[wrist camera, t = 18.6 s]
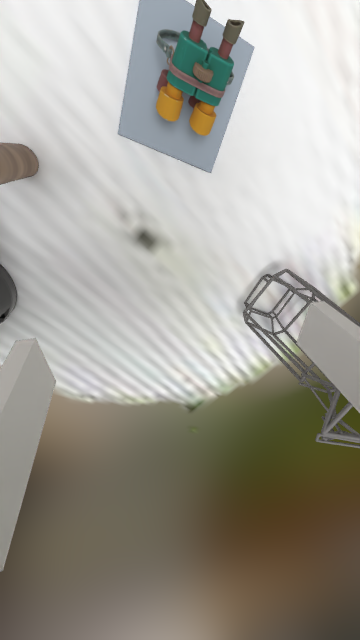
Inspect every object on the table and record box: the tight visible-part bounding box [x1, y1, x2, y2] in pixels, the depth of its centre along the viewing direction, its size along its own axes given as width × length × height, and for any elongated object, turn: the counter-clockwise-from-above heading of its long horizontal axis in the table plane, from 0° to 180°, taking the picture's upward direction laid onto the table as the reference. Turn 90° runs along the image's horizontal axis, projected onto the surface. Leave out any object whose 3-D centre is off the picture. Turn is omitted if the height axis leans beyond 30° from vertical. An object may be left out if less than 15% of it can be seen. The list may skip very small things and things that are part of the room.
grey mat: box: [118, 0, 254, 173], centre depth 31 cm, size 14×14×1 cm
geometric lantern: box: [243, 269, 360, 448], centre depth 39 cm, size 16×16×35 cm
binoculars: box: [156, 0, 244, 136], centre depth 26 cm, size 9×9×10 cm
